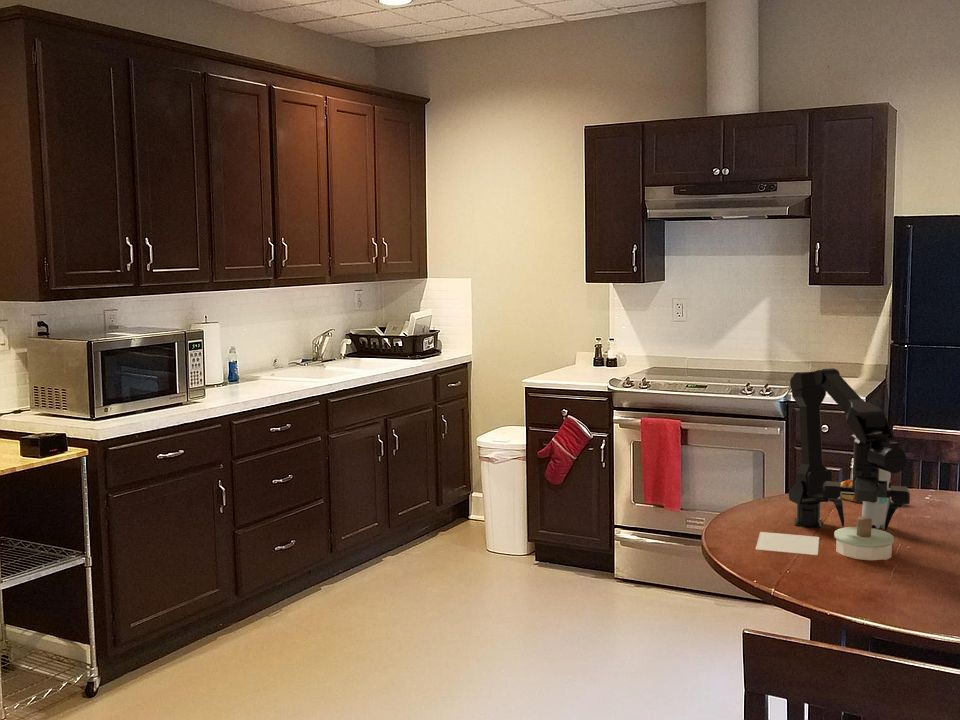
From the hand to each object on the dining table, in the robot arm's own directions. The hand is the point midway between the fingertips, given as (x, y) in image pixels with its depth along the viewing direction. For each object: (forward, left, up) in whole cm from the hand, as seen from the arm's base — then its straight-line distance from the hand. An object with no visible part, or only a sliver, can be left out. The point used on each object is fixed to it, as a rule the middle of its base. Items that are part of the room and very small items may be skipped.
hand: (864, 528), depth 229 cm
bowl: (0, 0, -6) cm, 6 cm away
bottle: (-22, +3, -6) cm, 23 cm away
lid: (0, 0, -2) cm, 3 cm away
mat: (-1, -17, -6) cm, 18 cm away
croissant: (-48, +1, -6) cm, 49 cm away
